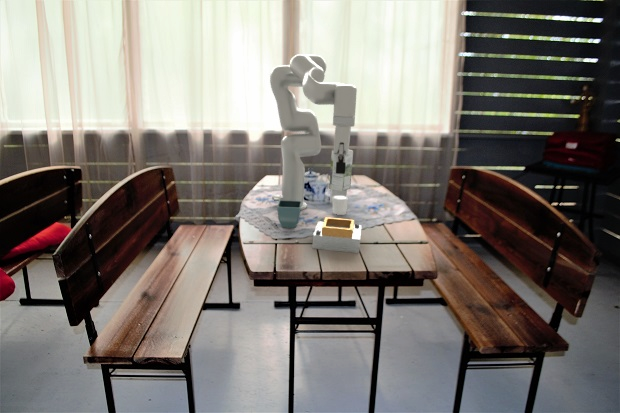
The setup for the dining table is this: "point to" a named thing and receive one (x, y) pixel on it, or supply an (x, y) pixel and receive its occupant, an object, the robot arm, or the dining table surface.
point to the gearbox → (337, 235)
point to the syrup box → (341, 180)
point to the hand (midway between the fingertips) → (341, 170)
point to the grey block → (335, 192)
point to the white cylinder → (340, 204)
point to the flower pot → (288, 213)
